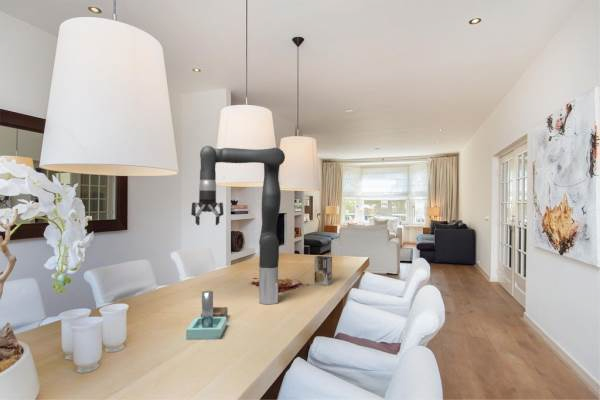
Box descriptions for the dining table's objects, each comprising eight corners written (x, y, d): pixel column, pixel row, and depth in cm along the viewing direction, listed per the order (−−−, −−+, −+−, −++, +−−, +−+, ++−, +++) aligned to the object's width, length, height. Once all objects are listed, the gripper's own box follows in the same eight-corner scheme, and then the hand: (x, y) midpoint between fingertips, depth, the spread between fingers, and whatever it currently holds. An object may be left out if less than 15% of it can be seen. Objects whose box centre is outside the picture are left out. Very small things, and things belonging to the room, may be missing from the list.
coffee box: (332, 283, 204) (332, 256, 204) (327, 285, 198) (327, 258, 198) (319, 281, 209) (319, 255, 209) (313, 283, 203) (314, 256, 203)
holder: (227, 316, 145) (227, 306, 145) (223, 323, 136) (223, 313, 136) (206, 316, 145) (206, 307, 145) (200, 324, 136) (201, 314, 136)
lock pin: (213, 327, 129) (214, 290, 129) (211, 331, 125) (211, 293, 125) (203, 327, 129) (203, 290, 129) (200, 331, 125) (200, 293, 125)
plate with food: (279, 294, 183) (279, 287, 183) (250, 284, 202) (250, 278, 202) (310, 287, 200) (311, 281, 200) (281, 278, 219) (281, 272, 219)
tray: (226, 325, 134) (226, 316, 134) (220, 339, 121) (220, 329, 121) (195, 326, 133) (195, 317, 133) (186, 339, 120) (186, 329, 120)
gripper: (224, 190, 161) (224, 224, 161) (194, 190, 161) (194, 224, 160) (221, 189, 154) (221, 225, 154) (189, 189, 153) (189, 225, 153)
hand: (207, 224), depth 157 cm, fingers open, 8 cm apart
